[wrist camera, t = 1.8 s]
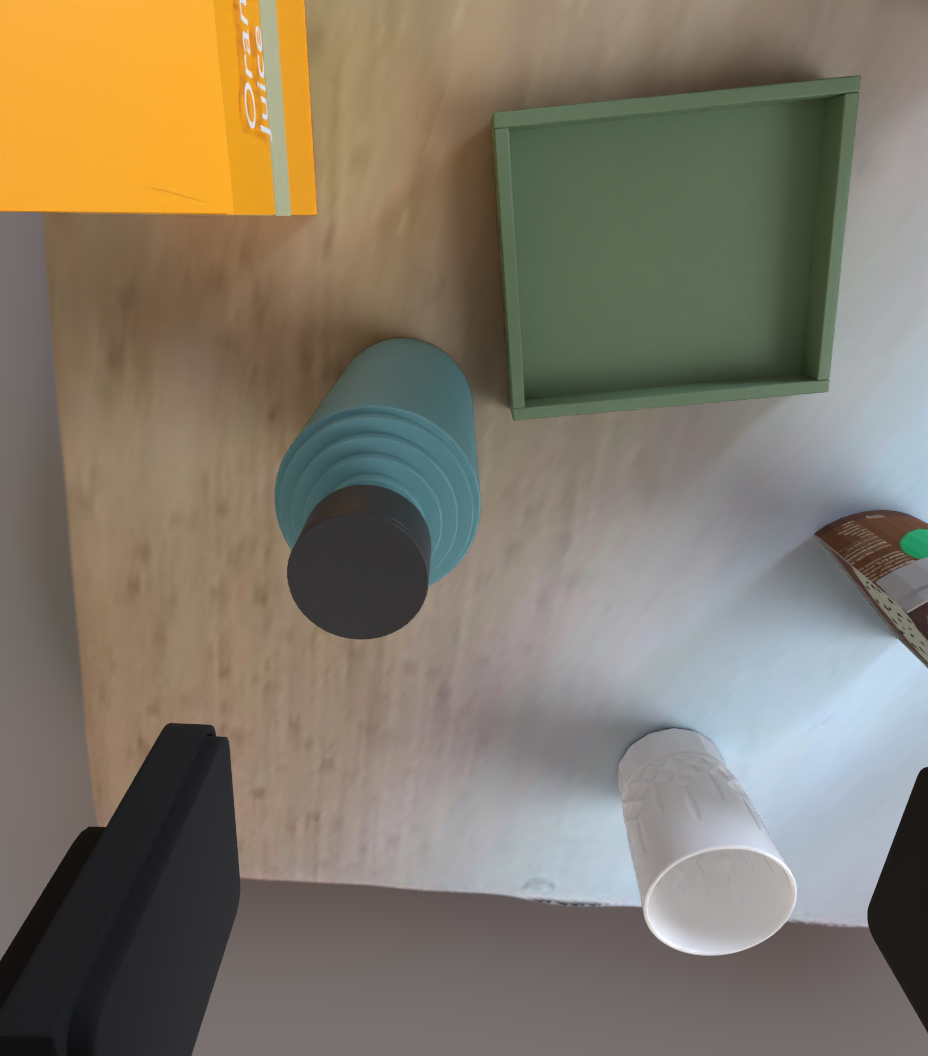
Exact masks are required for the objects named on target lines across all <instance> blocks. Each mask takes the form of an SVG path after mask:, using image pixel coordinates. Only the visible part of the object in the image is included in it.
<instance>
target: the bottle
mask: <svg viewBox="0 0 928 1056" xmlns="http://www.w3.org/2000/svg"><path fill="white" fill-rule="evenodd" d="M354 485H376V486H380V487H384V488H387V489H390V490H393V491H395V492H397V493H399V494H400V495H402V496H403V497H405V498H406V499H408V500H409V501H410V502H411V503H412V504H413V505H414V506H415V507H416V508H417V509H418V510H419V511H420V513H421V514H422V516H423V517H424V519H425V521H426V523H427V526H428V529H429V531H430V536H431V560H430V572H429V584H428V586H430V585H431V584H433V583H435V582H437V581H439V580H440V579H441V578H443V577H444V576H445V575H447V574H448V573H449V572H450V571H451V570H452V569H453V568H454V567H456V566H457V565H458V563H459V562H460V561H461V560H462V558H463V557H464V556H465V554H466V553H467V551H468V549H469V548H470V546H471V544H472V542H473V539H474V537H475V535H476V531H477V528H478V524H479V519H480V511H481V502H480V486H479V474H478V461H477V449H476V437H475V425H474V412H473V401H472V394H471V390H470V387H469V384H468V381H467V379H466V377H465V375H464V373H463V372H462V370H461V368H460V367H459V366H458V365H457V363H456V362H455V361H454V360H453V359H452V358H451V357H450V356H449V355H448V354H446V353H445V352H444V351H442V350H441V349H439V348H437V347H435V346H434V345H432V344H429V343H426V342H424V341H420V340H416V339H408V338H396V339H390V340H385V341H382V342H379V343H376V344H374V345H372V346H370V347H368V348H367V349H365V350H364V351H362V352H361V353H360V354H359V355H357V356H356V357H355V358H354V359H353V361H352V362H351V363H350V364H349V365H348V367H347V368H346V370H345V371H344V372H343V374H342V375H341V377H340V378H339V379H338V381H337V382H336V383H335V385H334V386H333V388H332V389H331V390H330V392H329V393H328V395H327V396H326V397H325V399H324V400H323V402H322V403H321V404H320V406H319V407H318V408H317V410H316V411H315V413H314V414H313V415H312V417H311V418H310V420H309V421H308V422H307V424H306V425H305V426H304V428H303V429H302V431H301V432H300V433H299V435H298V436H297V438H296V439H295V440H294V442H293V443H292V445H291V446H290V448H289V449H288V451H287V452H286V454H285V456H284V458H283V460H282V462H281V465H280V468H279V471H278V474H277V478H276V485H275V509H276V515H277V519H278V523H279V526H280V529H281V531H282V534H283V536H284V538H285V540H286V542H287V543H288V545H289V547H290V549H291V550H292V549H293V547H294V545H295V543H296V541H297V539H298V537H299V535H300V533H301V531H302V529H303V527H304V525H305V523H306V521H307V519H308V517H309V515H310V513H311V512H312V510H313V509H314V507H315V506H316V505H317V504H318V503H319V502H320V501H321V500H322V499H323V498H325V497H326V496H327V495H329V494H331V493H332V492H334V491H337V490H339V489H341V488H345V487H348V486H354Z"/></svg>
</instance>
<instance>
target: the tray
mask: <svg viewBox="0 0 928 1056" xmlns="http://www.w3.org/2000/svg"><path fill="white" fill-rule="evenodd" d="M860 79H861V76H859V75H857V76H848V77H838V78H828V79H818V80H809V81H799V82H789V83H779V84H770V85H760V86H750V87H740V88H731V89H721V90H711V91H701V92H692V93H682V94H672V95H662V96H653V97H643V98H633V99H623V100H614V101H604V102H594V103H584V104H575V105H565V106H555V107H545V108H536V109H526V110H516V111H506V112H497V113H494V114H493V116H492V119H491V129H492V144H493V159H494V174H495V189H496V204H497V219H498V233H499V248H500V263H501V278H502V293H503V308H504V322H505V337H506V352H507V367H508V382H509V397H510V409H511V413H512V417H513V420H524V419H535V418H546V417H557V416H568V415H579V414H590V413H601V412H612V411H623V410H634V409H645V408H656V407H667V406H678V405H689V404H700V403H711V402H722V401H733V400H744V399H755V398H766V397H777V396H788V395H799V394H810V393H821V392H828V389H829V380H828V379H829V378H830V368H831V358H832V349H833V339H834V329H835V320H836V310H837V300H838V291H839V281H840V272H841V262H842V252H843V243H844V233H845V223H846V214H847V204H848V194H849V185H850V175H851V165H852V156H853V146H854V137H855V127H856V117H857V108H858V98H859V93H858V91H859V88H860Z"/></svg>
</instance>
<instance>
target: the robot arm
mask: <svg viewBox="0 0 928 1056" xmlns="http://www.w3.org/2000/svg"><path fill="white" fill-rule="evenodd" d="M239 897H240V874H239V862H238V849H237V836H236V823H235V811H234V798H233V785H232V772H231V760H230V747H229V741H228V738H227V737H216V732H215V729H214V727H213V726H212V725H201V724H178V723H169V724H167V725H166V726H165V727H164V728H163V730H162V731H161V733H160V735H159V737H158V738H157V740H156V742H155V744H154V745H153V747H152V749H151V750H150V752H149V754H148V756H147V757H146V759H145V761H144V763H143V764H142V766H141V768H140V769H139V771H138V773H137V775H136V776H135V778H134V780H133V782H132V783H131V785H130V787H129V789H128V790H127V792H126V794H125V795H124V797H123V799H122V801H121V802H120V804H119V806H118V808H117V809H116V811H115V813H114V815H113V816H112V818H111V820H110V821H109V823H108V825H107V827H88V828H87V829H85V830H84V831H82V832H81V833H80V834H79V836H78V837H77V839H76V840H75V841H74V842H73V844H72V845H71V847H70V849H69V850H68V852H67V854H66V855H65V857H64V858H63V860H62V862H61V863H60V865H59V866H58V868H57V870H56V872H55V873H54V875H53V876H52V878H51V879H50V881H49V883H48V884H47V886H46V888H45V889H44V891H43V893H42V894H41V896H40V897H39V899H38V901H37V902H36V904H35V906H34V907H33V909H32V910H31V912H30V914H29V915H28V917H27V918H26V920H25V922H24V923H23V925H22V927H21V928H20V930H19V932H18V933H17V935H16V936H15V938H14V940H13V941H12V943H11V945H10V946H9V948H8V949H7V951H6V953H5V954H4V956H3V957H2V959H1V961H0V1056H191V1055H192V1052H193V1049H194V1046H195V1043H196V1039H197V1036H198V1033H199V1030H200V1027H201V1024H202V1021H203V1017H204V1014H205V1011H206V1008H207V1005H208V1002H209V999H210V995H211V992H212V989H213V986H214V983H215V979H216V976H217V973H218V970H219V967H220V964H221V961H222V958H223V954H224V951H225V948H226V945H227V942H228V939H229V936H230V932H231V929H232V926H233V923H234V920H235V917H236V913H237V909H238V904H239ZM867 918H868V925H869V928H870V932H871V934H872V936H873V938H874V941H875V942H876V944H877V946H878V947H879V949H880V951H881V952H882V954H883V956H884V958H885V960H886V961H887V963H888V965H889V966H890V968H891V970H892V972H893V973H894V975H895V977H896V979H897V980H898V982H899V984H900V985H901V987H902V989H903V991H904V992H905V994H906V996H907V998H908V999H909V1001H910V1003H911V1005H912V1006H913V1008H914V1010H915V1012H916V1013H917V1015H918V1017H919V1018H920V1020H921V1022H922V1023H923V1025H924V1027H925V1029H926V1031H927V1032H928V767H925V768H923V769H922V770H921V771H920V772H919V774H918V776H917V779H916V782H915V784H914V787H913V789H912V792H911V795H910V797H909V800H908V803H907V805H906V808H905V811H904V813H903V816H902V819H901V821H900V824H899V827H898V829H897V832H896V835H895V837H894V840H893V843H892V845H891V848H890V851H889V853H888V856H887V859H886V861H885V864H884V867H883V869H882V872H881V875H880V877H879V880H878V883H877V885H876V888H875V891H874V893H873V896H872V899H871V901H870V904H869V907H868V917H867Z"/></svg>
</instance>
